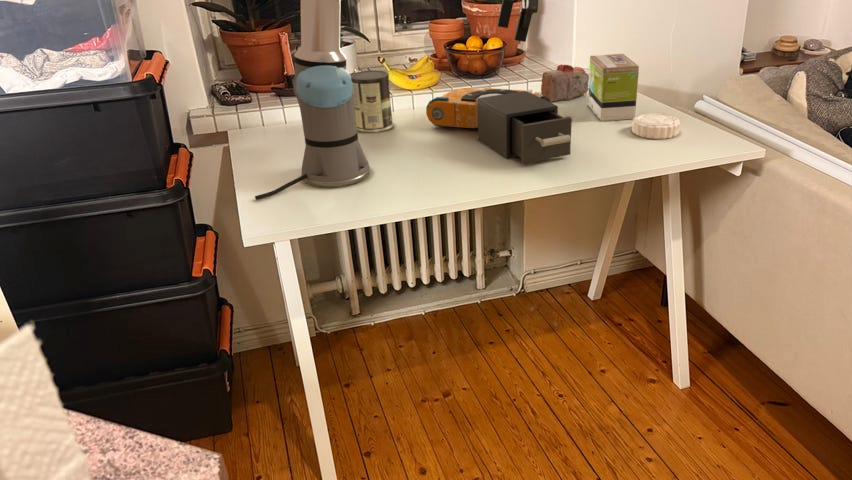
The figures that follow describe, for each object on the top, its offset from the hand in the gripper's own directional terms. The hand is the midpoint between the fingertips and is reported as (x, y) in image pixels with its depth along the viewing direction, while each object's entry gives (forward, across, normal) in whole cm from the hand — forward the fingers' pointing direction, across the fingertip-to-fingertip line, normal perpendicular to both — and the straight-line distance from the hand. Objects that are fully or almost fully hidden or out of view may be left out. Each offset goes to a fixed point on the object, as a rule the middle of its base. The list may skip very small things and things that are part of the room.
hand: (510, 33), depth 172 cm
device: (+26, +10, -4) cm, 28 cm away
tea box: (+18, +5, -37) cm, 41 cm away
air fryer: (+24, -12, -4) cm, 27 cm away
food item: (+20, +24, -31) cm, 44 cm away
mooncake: (+16, -15, -40) cm, 45 cm away
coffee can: (+33, +16, +27) cm, 45 cm away
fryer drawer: (+22, -21, -5) cm, 31 cm away
